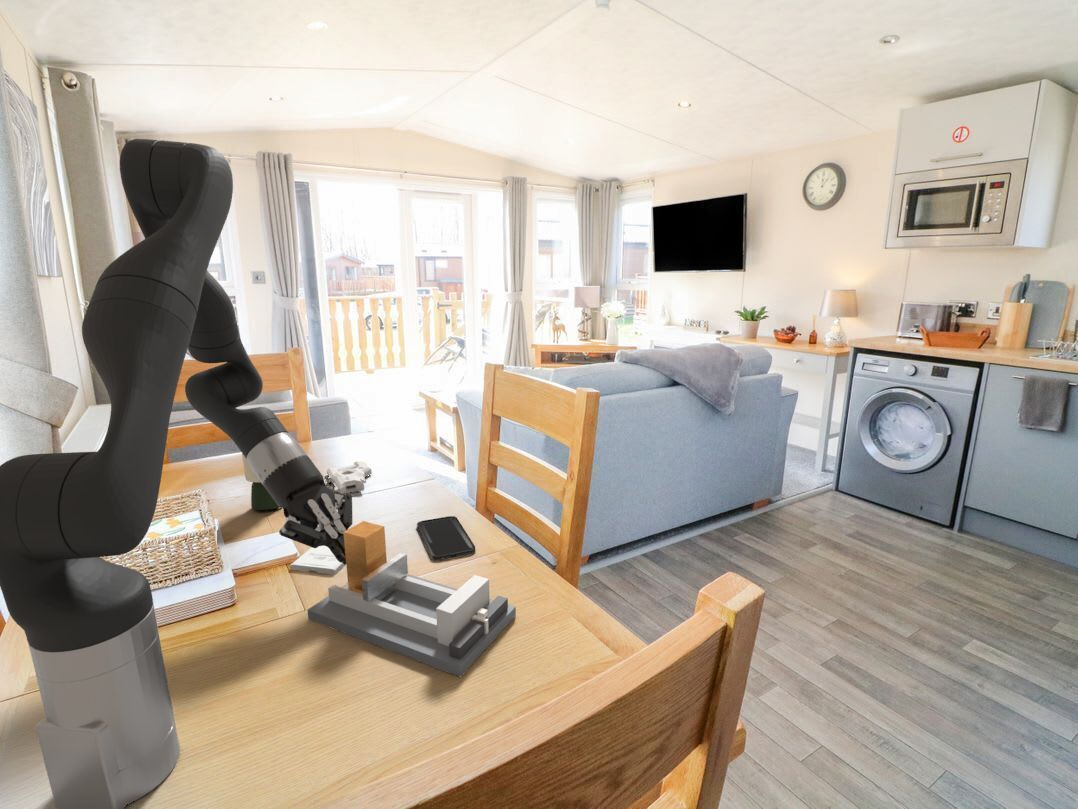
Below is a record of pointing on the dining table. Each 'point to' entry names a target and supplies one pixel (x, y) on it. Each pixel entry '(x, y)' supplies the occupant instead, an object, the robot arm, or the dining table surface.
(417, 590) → the bench vise
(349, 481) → the white mechanical part
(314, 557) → the external hard drive
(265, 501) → the character mug
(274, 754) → the dining table surface
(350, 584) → the block
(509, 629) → the dining table surface
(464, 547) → the phone
